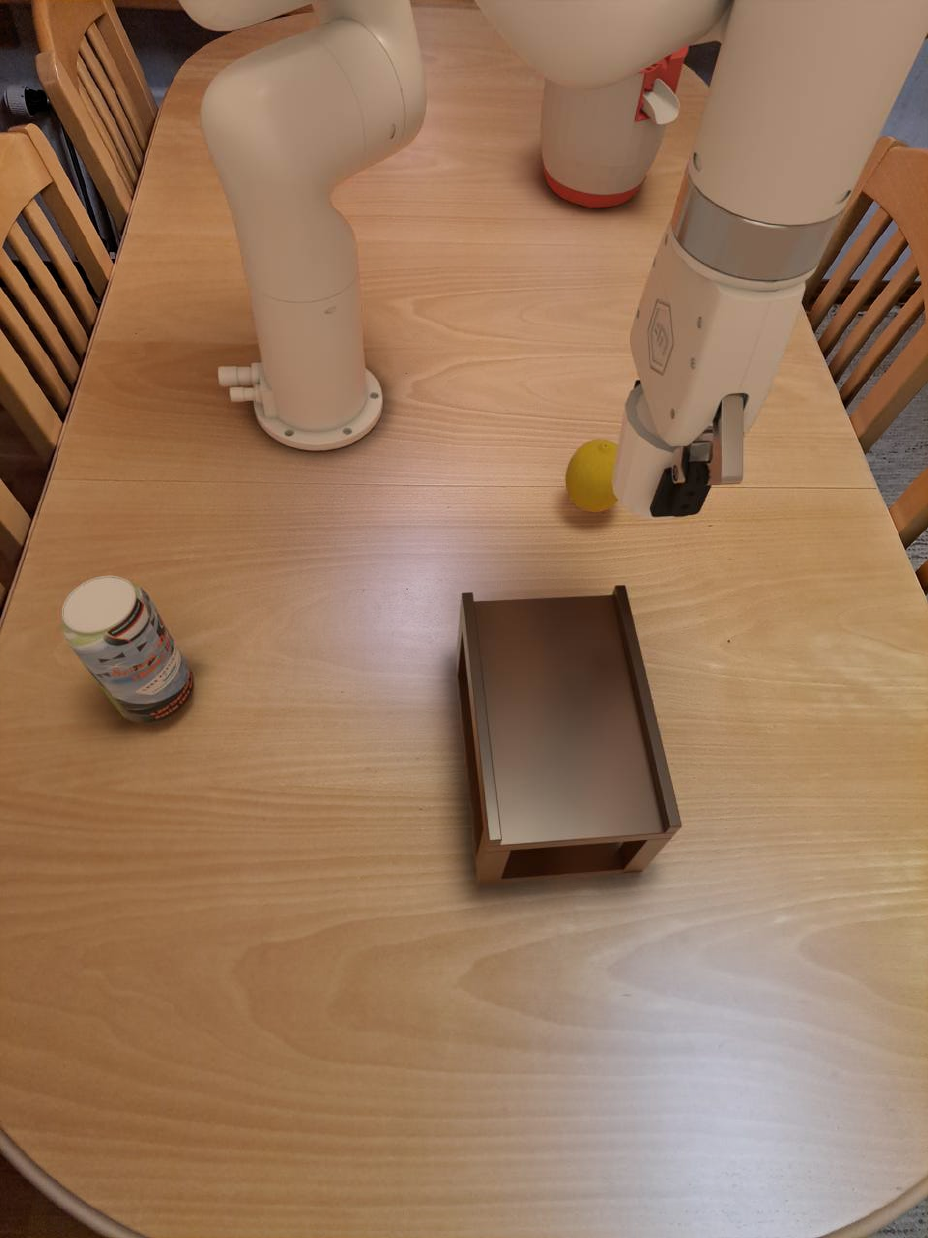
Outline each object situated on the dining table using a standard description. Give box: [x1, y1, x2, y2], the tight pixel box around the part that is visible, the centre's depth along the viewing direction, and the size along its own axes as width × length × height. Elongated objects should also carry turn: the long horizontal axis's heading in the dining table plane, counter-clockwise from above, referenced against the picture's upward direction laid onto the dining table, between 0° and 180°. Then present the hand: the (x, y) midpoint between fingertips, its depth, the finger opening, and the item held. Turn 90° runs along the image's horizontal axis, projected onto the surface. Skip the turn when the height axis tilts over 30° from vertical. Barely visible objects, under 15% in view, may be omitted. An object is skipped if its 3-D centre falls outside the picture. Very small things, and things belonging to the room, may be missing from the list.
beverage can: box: [61, 575, 195, 724], centre depth 60 cm, size 6×7×12 cm
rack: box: [454, 584, 683, 886], centre depth 59 cm, size 12×18×10 cm, turn 5°
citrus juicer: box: [539, 46, 690, 209], centre depth 97 cm, size 16×17×20 cm
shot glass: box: [612, 383, 713, 521], centre depth 54 cm, size 7×7×7 cm
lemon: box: [564, 438, 619, 513], centre depth 74 cm, size 6×6×8 cm
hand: (659, 466), depth 55 cm, fingers closed on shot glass, 6 cm apart
